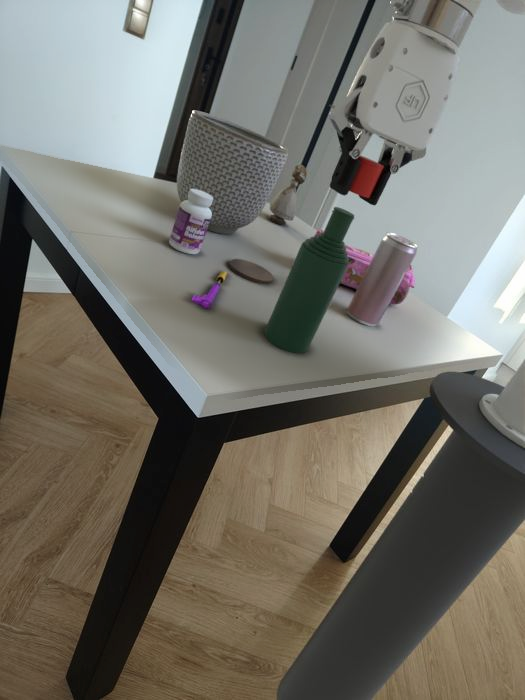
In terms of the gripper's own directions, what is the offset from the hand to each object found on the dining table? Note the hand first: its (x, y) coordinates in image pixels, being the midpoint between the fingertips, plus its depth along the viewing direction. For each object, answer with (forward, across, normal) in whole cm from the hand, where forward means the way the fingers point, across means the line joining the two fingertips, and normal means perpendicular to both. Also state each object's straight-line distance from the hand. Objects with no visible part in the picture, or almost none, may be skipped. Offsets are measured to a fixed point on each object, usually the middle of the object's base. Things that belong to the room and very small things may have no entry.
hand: (352, 194), depth 60 cm
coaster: (+21, +4, +23) cm, 31 cm away
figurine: (+21, +28, +62) cm, 72 cm away
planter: (+21, +3, +45) cm, 50 cm away
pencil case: (+21, +28, +26) cm, 43 cm away
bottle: (+21, 0, 0) cm, 21 cm away
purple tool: (+21, -7, +13) cm, 26 cm away
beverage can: (+21, +22, +12) cm, 32 cm away
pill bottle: (+21, -7, +27) cm, 35 cm away
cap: (0, 0, 0) cm, 0 cm away
